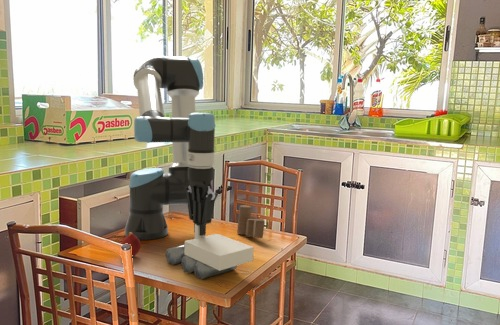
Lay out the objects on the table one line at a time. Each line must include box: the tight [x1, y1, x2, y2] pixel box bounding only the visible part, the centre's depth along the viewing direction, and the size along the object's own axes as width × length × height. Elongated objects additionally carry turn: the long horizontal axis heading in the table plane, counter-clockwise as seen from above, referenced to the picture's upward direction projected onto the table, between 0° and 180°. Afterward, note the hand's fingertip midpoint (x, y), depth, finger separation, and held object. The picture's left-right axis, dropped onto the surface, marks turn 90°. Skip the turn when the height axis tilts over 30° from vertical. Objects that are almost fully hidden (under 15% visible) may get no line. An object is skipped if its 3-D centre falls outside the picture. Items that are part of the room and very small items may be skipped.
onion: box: [121, 232, 142, 257], centre depth 149 cm, size 6×6×8 cm
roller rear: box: [165, 244, 186, 266], centre depth 148 cm, size 5×12×5 cm, turn 133°
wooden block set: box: [236, 204, 265, 239], centre depth 175 cm, size 18×9×10 cm, turn 12°
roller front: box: [180, 255, 198, 274], centre depth 142 cm, size 5×12×5 cm, turn 133°
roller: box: [193, 261, 238, 280], centre depth 138 cm, size 5×12×5 cm
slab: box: [184, 233, 254, 271], centre depth 136 cm, size 16×12×4 cm
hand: (199, 245), depth 143 cm, fingers closed
